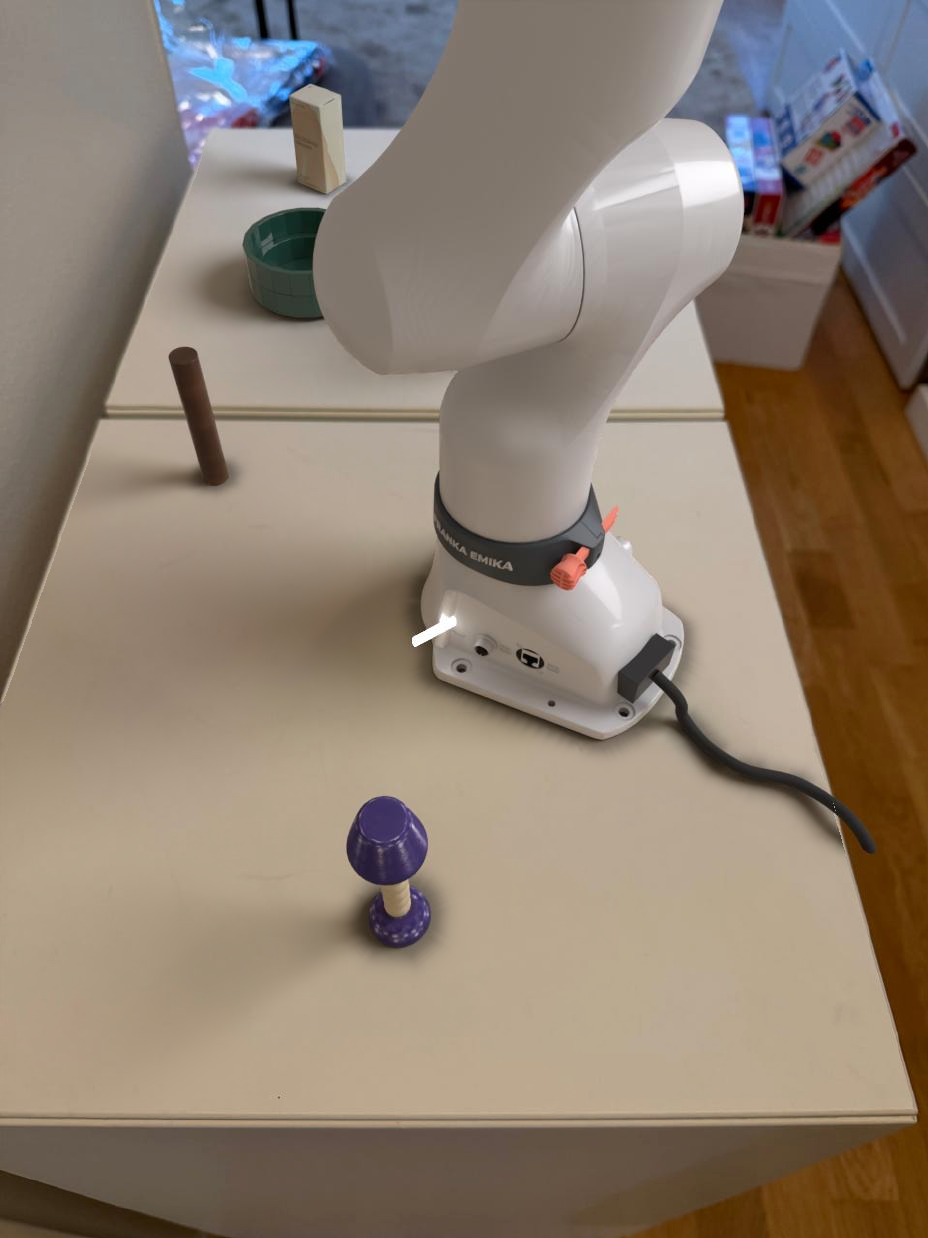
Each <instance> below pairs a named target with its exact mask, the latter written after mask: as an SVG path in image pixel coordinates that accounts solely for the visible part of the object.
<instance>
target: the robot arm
mask: <svg viewBox="0 0 928 1238" xmlns="http://www.w3.org/2000/svg"><path fill="white" fill-rule="evenodd" d="M724 1H725V0H458V2H457V7H456V10H455V15H454V19H453V22H452V25H451V30H450V33H449V35H448V38H447V41H446V43H445V46H444V49H443V52H442V54H441V56H440V58H439V61H438V63H437V65H436V68H435V70H434V72H433V74H432V76H431V78H430V79H429V82H428V84H427V86H426V88H425V89H424V91H423V93H422V95H421V97H420V99H419V100H418V102H417V104H416V105H415V107H414V109H413V110H412V112H411V114H410V115H409V117H408V118H407V120H406V121H405V123H404V124H403V126H402V127H401V128H400V130H399V132H398V133H397V134H396V135H395V137H394V138H393V140H392V141H391V142H390V144H389V145H388V146H387V148H386V149H385V150H384V151H383V152H382V153H381V154H380V156H378V158H377V159H376V160H375V161H374V162H373V163H372V164H371V165H370V166H369V167H368V168H367V169H366V170H365V171H364V172H363V173H362V174H361V175H360V176H359V177H358V178H356V179H355V180H354V181H352V182H351V183H350V184H349V185H348V186H347V187H345V188H344V189H343V190H342V191H340V192H339V193H338V194H337V195H336V196H334V197H333V198H332V199H331V201H330V203H329V204H328V206H327V207H326V209H327V210H326V212H325V213H324V216H323V218H322V221H321V223H320V226H319V229H318V233H317V236H316V240H315V246H314V253H313V279H314V287H315V292H316V297H317V300H318V304H319V307H320V309H321V312H322V314H323V316H322V317H323V319H324V321H325V323H326V325H327V327H328V329H329V330H330V332H331V334H332V335H333V337H334V338H335V339H336V341H337V343H339V345H341V347H342V348H343V349H344V350H345V351H346V353H347V354H349V355H350V356H351V357H352V358H353V359H354V360H355V361H356V362H358V363H359V364H361V365H362V366H363V367H365V368H366V369H368V370H369V371H371V372H373V373H375V374H377V375H379V376H393V375H394V376H395V375H397V376H398V375H419V374H429V373H430V374H431V373H442V372H443V373H445V372H454V371H456V372H455V374H454V376H453V377H452V378H451V380H450V381H449V383H448V385H447V387H446V388H445V392H444V394H443V397H442V400H441V404H440V408H439V413H438V417H439V418H438V424H439V425H438V426H439V427H438V432H439V434H438V436H439V437H438V441H439V443H438V444H439V445H438V448H439V449H438V455H439V456H438V457H439V459H438V464H439V466H438V467H439V468H438V471H437V473H436V476H435V478H434V484H433V511H432V512H433V515H432V516H433V527H434V531H435V535H436V543H435V544H436V545H435V550H434V557H433V562H432V565H431V568H430V572H429V575H428V577H427V578H426V580H425V582H424V585H423V589H422V591H421V597H420V613H421V618H422V621H423V624H424V627H425V629H426V630H425V631H423V632H421V633H419V634H417V635H414V636H413V637H412V645H413V646H414V647H417V646H419V645H421V644H423V643H425V642H427V641H429V640H431V644H432V659H431V661H432V662H431V663H432V664H431V665H432V670H433V674H434V675H435V677H436V678H437V679H439V680H441V681H443V682H444V683H445V682H446V683H447V684H450V685H452V686H456V687H458V688H460V689H464V690H466V691H469V692H471V693H473V694H477V695H479V696H481V697H484V698H487V699H490V700H493V701H495V702H497V703H500V704H502V705H505V706H508V707H510V708H514V709H516V710H518V711H522V712H523V713H526V714H528V715H531V716H534V717H537V718H540V719H542V720H544V721H547V722H550V723H553V724H555V725H558V726H561V727H563V728H566V729H569V730H572V731H573V732H576V733H579V734H582V735H584V736H587V737H590V738H593V739H596V740H602V741H603V740H607V739H610V738H613V737H616V736H618V735H621V734H622V733H624V732H626V731H627V730H629V729H631V728H632V727H634V725H637V723H639V722H640V721H642V719H643V718H644V717H645V716H647V714H648V713H649V712H650V711H651V710H652V709H653V708H654V706H655V705H656V704H657V703H658V701H659V700H660V699H661V697H662V696H663V694H665V695H666V696H667V697H668V698H669V699H670V700H671V702H672V703H673V705H674V707H675V708H674V709H675V710H674V713H675V716H676V719H677V721H678V723H679V724H680V725H681V727H682V728H683V730H684V731H685V732H686V734H687V735H688V736H689V738H690V739H691V740H692V741H693V742H694V743H695V744H696V745H697V746H698V748H700V749H701V751H703V752H704V753H706V754H707V755H708V756H709V757H710V758H712V759H713V760H714V761H716V762H718V763H719V764H721V765H722V766H724V767H725V768H727V769H728V770H730V771H733V772H734V773H736V774H738V775H741V776H743V777H746V778H749V779H753V780H756V781H757V780H758V781H761V782H767V783H773V784H778V785H783V786H787V787H789V788H792V789H795V790H797V791H799V792H801V793H803V794H805V795H806V796H808V797H810V798H811V799H813V800H815V801H816V802H818V803H819V804H821V805H823V806H824V807H825V808H827V809H828V810H829V811H831V812H832V813H833V814H835V816H837V817H838V818H839V819H840V820H841V821H842V822H843V823H844V824H845V825H846V826H847V827H848V829H849V830H850V831H851V833H853V836H854V837H855V838H856V839H857V841H858V843H859V846H860V847H861V849H862V850H863V851H864V852H865V853H867V854H870V855H873V854H876V853H877V846H876V843H875V841H874V839H873V838H872V835H871V833H870V832H869V831H868V829H867V828H866V826H865V825H864V824H863V822H862V821H861V820H860V818H859V817H858V816H856V814H855V813H854V812H853V810H851V809H849V807H848V806H846V805H845V804H844V803H843V802H841V800H839V799H837V798H836V797H835V796H833V794H830V793H829V792H827V791H825V790H824V789H822V788H821V787H819V786H817V785H815V784H814V783H812V782H810V781H809V780H806V779H804V778H802V777H801V776H800V777H799V776H798V775H795V774H792V773H788V772H784V771H781V770H780V771H779V770H774V769H770V768H763V767H759V766H755V765H751V764H749V763H746V762H743V761H741V760H740V759H738V758H735V757H734V756H732V755H731V754H729V753H728V752H726V751H724V750H723V749H721V748H720V747H719V746H718V745H716V743H713V741H712V740H710V739H709V738H708V737H707V736H706V735H705V734H704V733H703V732H702V730H700V728H699V727H698V725H697V724H696V722H695V721H694V720H693V719H692V717H691V716H690V714H689V704H688V702H687V699H686V697H685V696H684V694H683V693H682V691H681V690H680V689H679V688H678V687H677V685H676V684H674V682H672V681H673V678H674V676H675V674H676V672H677V670H678V667H679V665H680V661H681V659H682V655H683V654H682V653H683V648H684V642H685V633H684V625H683V621H682V620H681V619H680V618H679V617H678V616H677V615H676V614H675V613H673V612H672V611H671V610H669V609H668V608H666V607H665V606H664V605H663V596H662V593H661V588H660V586H659V584H658V582H657V581H656V579H655V578H654V577H653V576H652V575H651V574H650V572H648V571H647V570H646V568H644V567H643V566H642V564H641V563H640V562H639V561H638V560H637V559H636V558H635V557H634V548H633V545H632V544H631V542H630V541H629V540H628V539H626V538H625V537H623V536H620V535H619V536H614V534H613V533H612V532H611V531H610V530H611V528H613V526H614V524H615V522H616V519H617V516H618V510H619V508H620V507H619V506H618V505H615V506H614V507H613V508H612V510H611V511H610V512H609V513H608V515H607V516H605V518H604V520H603V517H602V513H601V510H600V507H599V502H598V500H597V496H596V492H595V490H594V489H595V488H594V487H593V483H592V480H593V475H594V470H595V465H596V460H597V457H598V452H599V448H600V445H601V441H602V436H603V433H604V428H605V425H606V423H607V421H608V419H609V416H610V413H611V412H612V410H613V407H614V406H615V404H616V402H617V400H618V398H619V396H620V395H621V393H622V391H623V389H624V388H625V386H626V384H627V383H628V382H629V380H630V378H631V376H632V375H633V373H634V372H635V370H636V369H637V367H638V366H639V364H640V363H641V362H642V360H643V359H644V357H645V356H646V354H647V353H648V351H649V350H650V349H651V347H652V346H653V344H654V343H655V342H656V341H657V340H658V338H659V337H660V335H661V334H662V333H663V332H664V330H665V329H666V328H667V327H669V325H670V324H671V323H672V322H673V320H675V318H676V317H677V316H678V315H679V314H680V313H681V312H682V311H683V310H684V308H686V307H687V306H688V305H689V304H690V303H691V302H692V301H694V299H695V298H697V296H699V295H700V294H701V293H702V292H704V291H705V290H706V289H707V288H708V287H709V286H710V285H712V284H713V283H715V282H717V280H718V279H720V277H721V276H723V274H724V273H725V272H726V271H727V270H728V268H729V266H730V264H731V262H732V260H733V258H734V255H735V253H736V251H737V248H738V245H739V242H740V239H741V235H742V230H743V223H744V218H745V217H744V216H745V215H744V213H745V196H744V188H743V182H742V179H741V176H740V171H739V169H738V166H737V163H736V161H735V159H734V157H733V155H732V152H731V151H730V150H729V147H728V146H727V145H726V143H725V142H724V141H723V139H722V138H721V137H720V135H718V133H716V131H715V130H714V129H712V128H711V127H710V126H709V125H707V124H706V123H704V122H702V121H699V120H696V119H691V118H690V119H689V118H672V117H667V115H668V114H669V113H670V112H671V111H672V110H673V108H674V107H675V106H676V105H677V104H678V103H679V101H680V100H681V99H682V97H683V96H684V95H685V93H686V92H687V91H688V89H689V88H690V86H691V84H692V83H693V81H694V79H695V78H696V76H697V74H698V72H699V70H700V68H701V65H702V64H703V60H704V58H705V55H706V52H707V49H708V46H709V45H710V44H709V43H710V41H711V37H712V35H713V32H714V29H715V26H716V23H717V21H718V18H719V15H720V12H721V10H722V7H723V3H724ZM459 670H464V671H463V672H460V671H459ZM620 713H624V714H626V715H627V716H623V715H621V714H620ZM833 803H834V804H833ZM834 806H835V808H834ZM835 810H836V811H835Z"/></svg>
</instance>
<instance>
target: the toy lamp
mask: <svg viewBox="0 0 928 1238" xmlns="http://www.w3.org/2000/svg"><path fill="white" fill-rule="evenodd" d="M428 849H429V838H428V834H427V830H426V829H425V826H424V824H423V823H422V821H421V820H420V819H419V817H418V816H417V815H416V814H415V813H414V812H413V810H412V809H411V808H410V807H409V806H407V804H406V803H405V802H403V801H402V800H400V799H398V798H396V797H393V796H391V795H390V796H389V795H381V796H376V797H375V796H374V797H373V798H371V799H369V800H367V801H366V802H365V803H363V805H362V806H361V807H360V808H359V810H358V811H357V813H356V815H355V817H354V819H353V822H352V823H351V826H350V828H349V831H348V834H347V836H346V845H345V850H346V851H345V852H346V856H347V860H348V862H349V864H350V866H351V868H352V870H353V871H354V872H355V874H357V876H359V877H360V878H361V879H363V880H365V881H366V882H368V883H371V884H373V885H377V886H380V891H379V892H378V893H377V894H376V895H375V896H374V898H373V900H372V901H371V904H370V906H369V911H368V924H369V928H370V930H371V932H372V933H373V935H374V936H375V937H376V939H378V940H379V942H381V943H382V944H384V945H386V946H388V947H392V948H406V947H409V946H411V945H414V944H415V943H417V942H419V941H420V940H421V939H422V938H423V937H424V935H425V934H426V933H427V931H428V929H429V926H430V924H431V919H432V912H431V911H432V910H431V906H430V903H429V901H428V899H427V898H426V896H425V894H424V893H423V892H422V891H420V889H418V888H417V887H415V886H413V885H410V883H409V882H410V879H411V878H412V877H413V876H415V875H416V874H417V873H418V871H420V869H421V868H422V866H423V864H424V863H425V861H426V859H427V855H428Z"/></svg>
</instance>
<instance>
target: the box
mask: <svg viewBox="0 0 928 1238" xmlns="http://www.w3.org/2000/svg"><path fill="white" fill-rule="evenodd" d="M288 98H289V108H290V116H291V126H292V127H291V129H292V137H293V145H294V146H293V147H294V156H295V164H296V165H295V166H296V173H297V182H298V183H299V184H301V185H303V186H306V187H308V188H310V189H313V190H315V191H317V192H319V193H321V194H325V195H328V194H330V193H331V192H333V191H334V190H336V189H338V188H339V187H341V186H342V185H344V184H345V183H347V169H346V155H345V140H344V137H345V136H344V124H343V123H344V122H343V121H344V120H343V109H342V105H343V104H342V95H341V94H339V93H337V92H334V91H332V90H329V89H327V88H325V87H321V86H318V85H315V84H313V83H309V84H307V85H305V86H304V87H301V88H299V89H298V90H296V91H294V92H293V93H291V94H289V95H288Z"/></svg>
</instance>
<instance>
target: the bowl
mask: <svg viewBox="0 0 928 1238" xmlns="http://www.w3.org/2000/svg"><path fill="white" fill-rule="evenodd" d="M326 210H327V208H324V207H323V208H322V207H294V208H288V209H282V210H279V211H276V212H274V213H270V214H267V215H265V216H263V217H261V218H260V219H258V220H256V221H255V222H254V223H252V225H250V226H249V228H248V229H247V230H246V231H245V233H244V236H243V239H242V244H241V245H242V246H241V247H242V252H243V256H244V261H245V266H246V271H247V277H248V282H249V287H250V291H251V294H252V296H253V298H254V300H256V301H257V302H258V303H259V304H260V305H261V306H262V307H263V308H265V309H266V310H269V311H271V312H274V313H275V314H278V315H283V316H287V317H291V318H319V317H323V314H322V312H321V309H320V307H319V304H318V300H317V297H316V292H315V287H314V279H313V253H314V246H315V240H316V236H317V233H318V229H319V226H320V223H321V221H322V218H323V216H324V213H325V212H326Z"/></svg>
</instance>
